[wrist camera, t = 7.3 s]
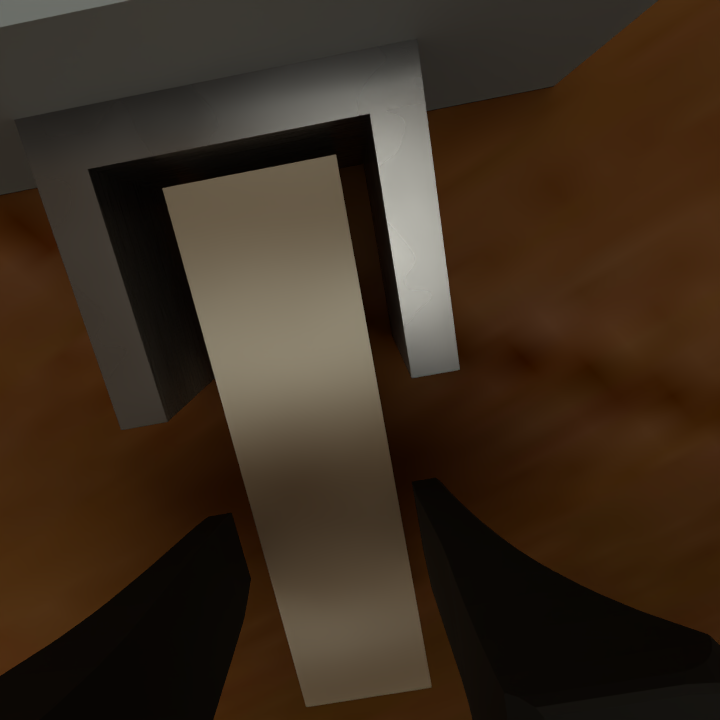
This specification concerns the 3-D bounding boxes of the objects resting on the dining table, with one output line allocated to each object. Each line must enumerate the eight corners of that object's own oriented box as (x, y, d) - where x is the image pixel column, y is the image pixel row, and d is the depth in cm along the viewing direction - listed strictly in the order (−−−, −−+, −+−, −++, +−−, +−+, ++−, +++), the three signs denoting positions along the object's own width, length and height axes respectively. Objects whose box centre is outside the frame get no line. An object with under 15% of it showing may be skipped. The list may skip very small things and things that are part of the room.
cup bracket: (424, 330, 13) (459, 369, 9) (196, 371, 13) (121, 430, 9) (393, 117, 12) (417, 38, 7) (137, 167, 12) (13, 119, 8)
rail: (412, 581, 16) (431, 687, 12) (317, 596, 16) (306, 706, 12) (341, 184, 12) (335, 154, 9) (220, 207, 13) (162, 188, 9)
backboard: (553, 86, 12) (836, -146, 5) (-14, 197, 12) (-486, 129, 5) (550, 35, 11) (847, -289, 5) (-31, 151, 12) (-555, 16, 5)
